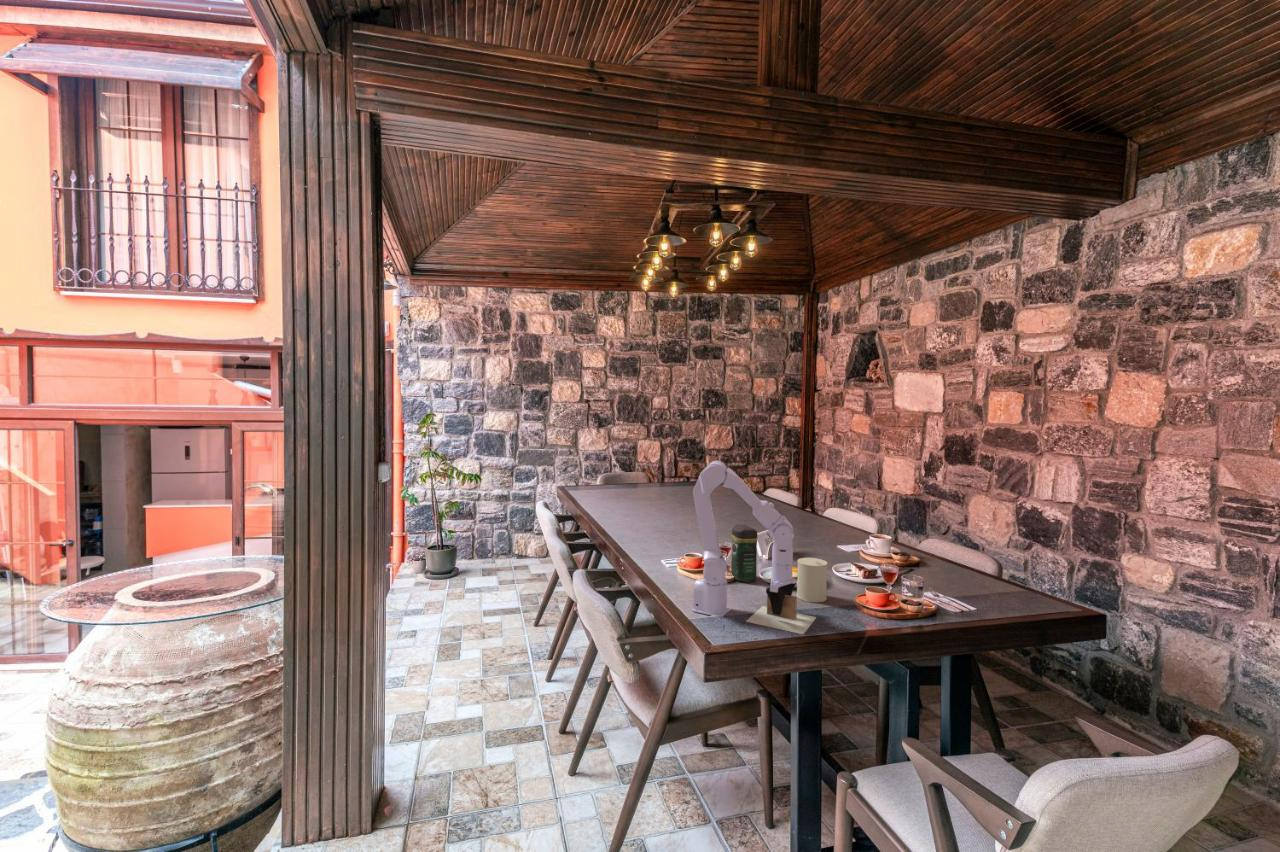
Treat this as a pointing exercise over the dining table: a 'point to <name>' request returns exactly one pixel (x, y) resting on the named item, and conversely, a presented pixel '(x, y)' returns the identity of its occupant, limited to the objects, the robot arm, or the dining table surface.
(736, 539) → the coffee jar
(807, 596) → the can
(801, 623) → the mat
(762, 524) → the robot arm
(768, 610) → the walnut slab
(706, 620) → the dining table surface
